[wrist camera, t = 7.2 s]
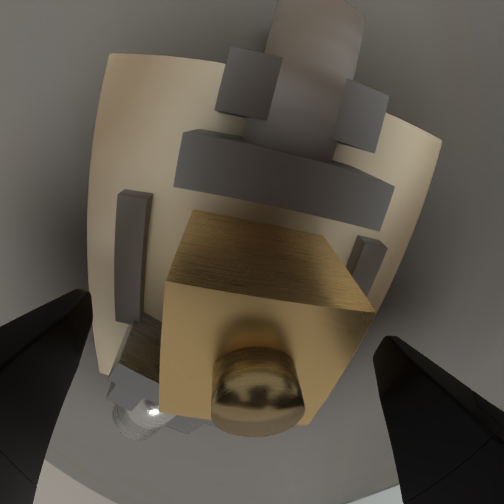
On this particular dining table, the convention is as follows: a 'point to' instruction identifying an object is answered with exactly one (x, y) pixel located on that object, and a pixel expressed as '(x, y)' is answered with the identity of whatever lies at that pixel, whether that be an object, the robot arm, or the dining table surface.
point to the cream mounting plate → (248, 160)
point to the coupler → (255, 325)
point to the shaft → (142, 384)
